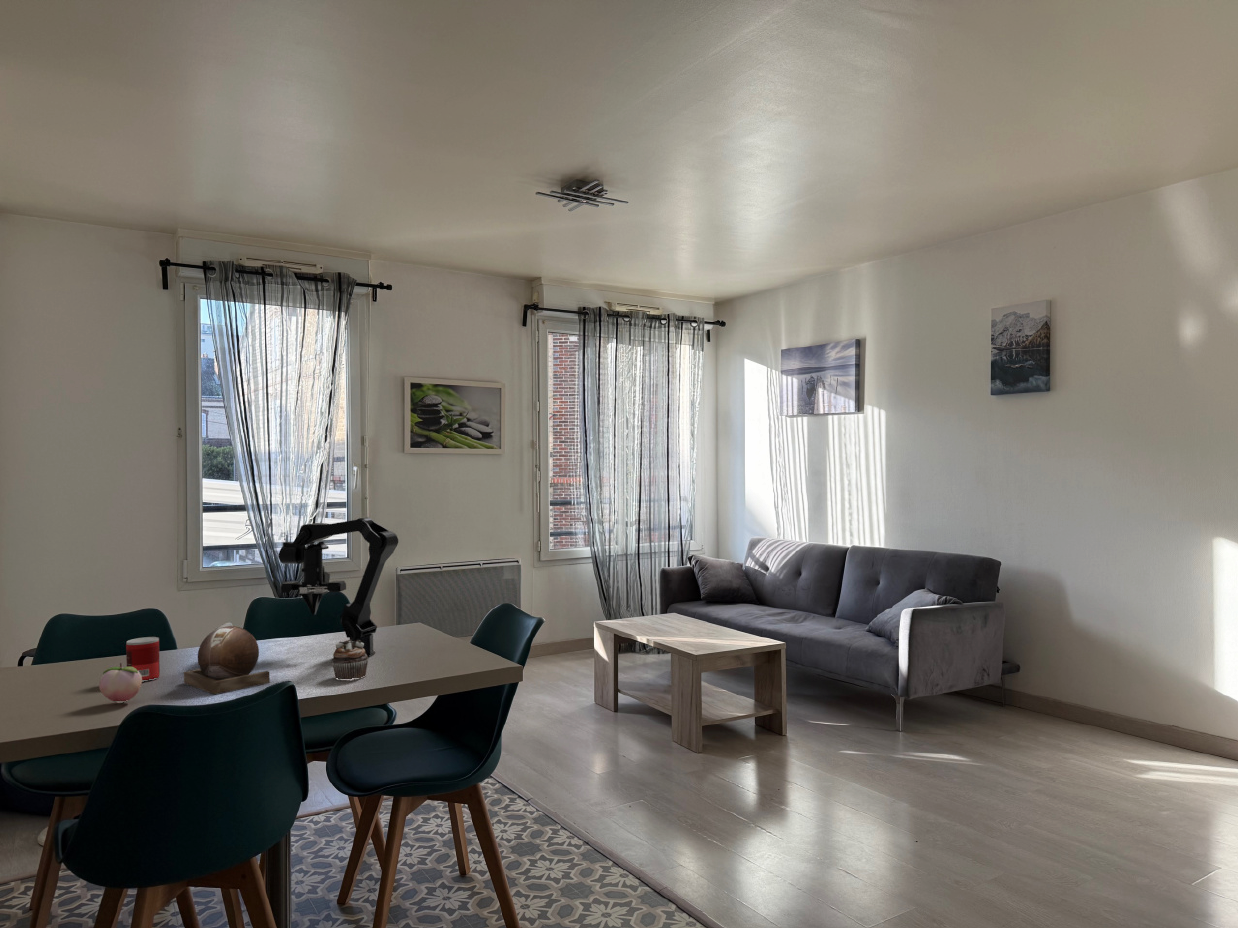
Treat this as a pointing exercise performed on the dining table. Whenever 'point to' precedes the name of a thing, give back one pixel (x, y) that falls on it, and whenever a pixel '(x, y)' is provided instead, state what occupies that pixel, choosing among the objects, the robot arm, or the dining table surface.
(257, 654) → the wooden sphere
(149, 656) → the canned food
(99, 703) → the dining table surface
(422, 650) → the dining table surface
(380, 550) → the robot arm
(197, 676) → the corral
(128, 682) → the decorative fruit
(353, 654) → the cupcake
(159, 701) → the dining table surface
